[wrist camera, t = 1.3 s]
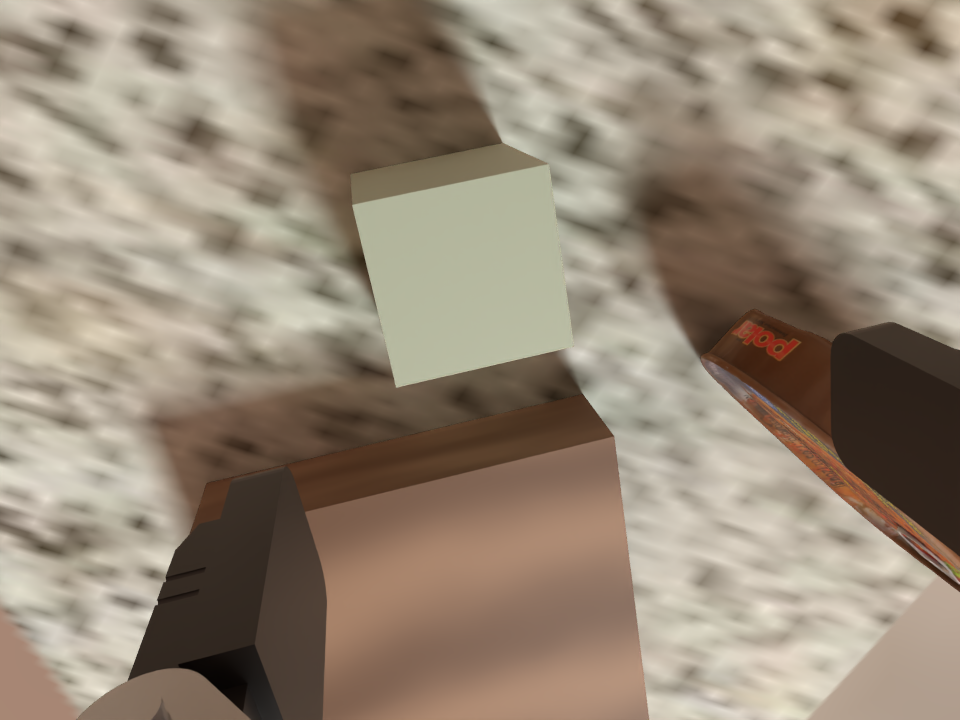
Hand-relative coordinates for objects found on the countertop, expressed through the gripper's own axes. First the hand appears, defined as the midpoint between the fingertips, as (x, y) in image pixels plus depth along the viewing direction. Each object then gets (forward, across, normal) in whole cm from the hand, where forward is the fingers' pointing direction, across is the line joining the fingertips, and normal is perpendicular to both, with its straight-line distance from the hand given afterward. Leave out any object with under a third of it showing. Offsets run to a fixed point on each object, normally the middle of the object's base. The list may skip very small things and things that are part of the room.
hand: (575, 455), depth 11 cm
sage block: (+15, 0, 0) cm, 16 cm away
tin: (+16, -13, +10) cm, 23 cm away
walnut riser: (+16, +3, +14) cm, 21 cm away
